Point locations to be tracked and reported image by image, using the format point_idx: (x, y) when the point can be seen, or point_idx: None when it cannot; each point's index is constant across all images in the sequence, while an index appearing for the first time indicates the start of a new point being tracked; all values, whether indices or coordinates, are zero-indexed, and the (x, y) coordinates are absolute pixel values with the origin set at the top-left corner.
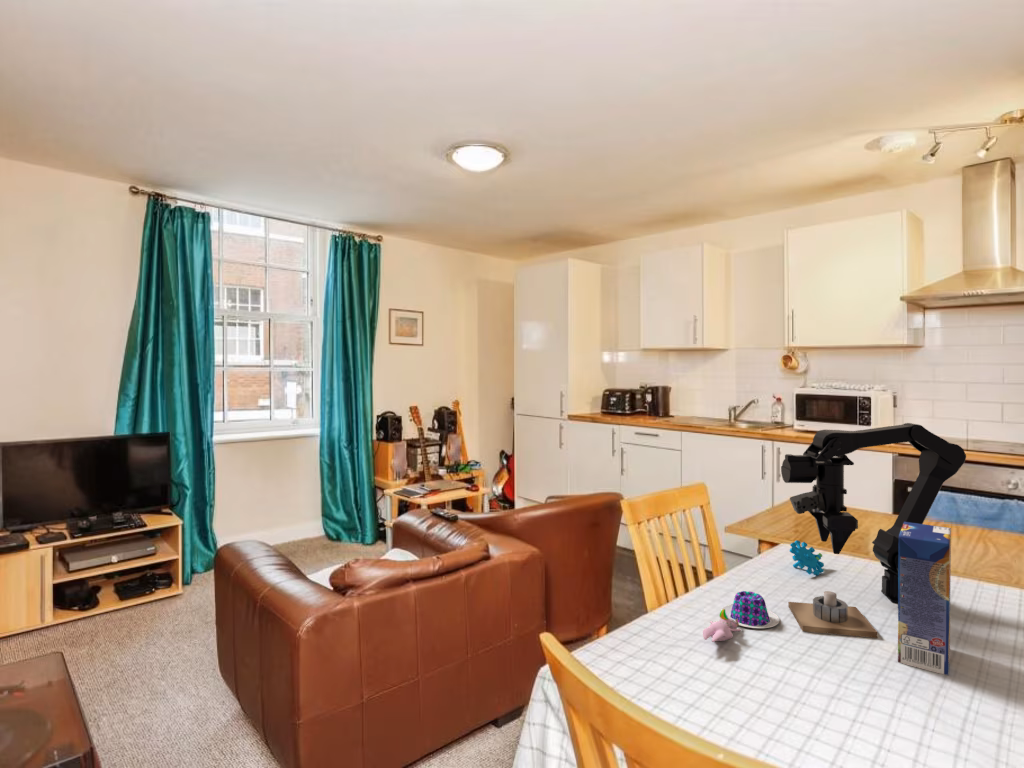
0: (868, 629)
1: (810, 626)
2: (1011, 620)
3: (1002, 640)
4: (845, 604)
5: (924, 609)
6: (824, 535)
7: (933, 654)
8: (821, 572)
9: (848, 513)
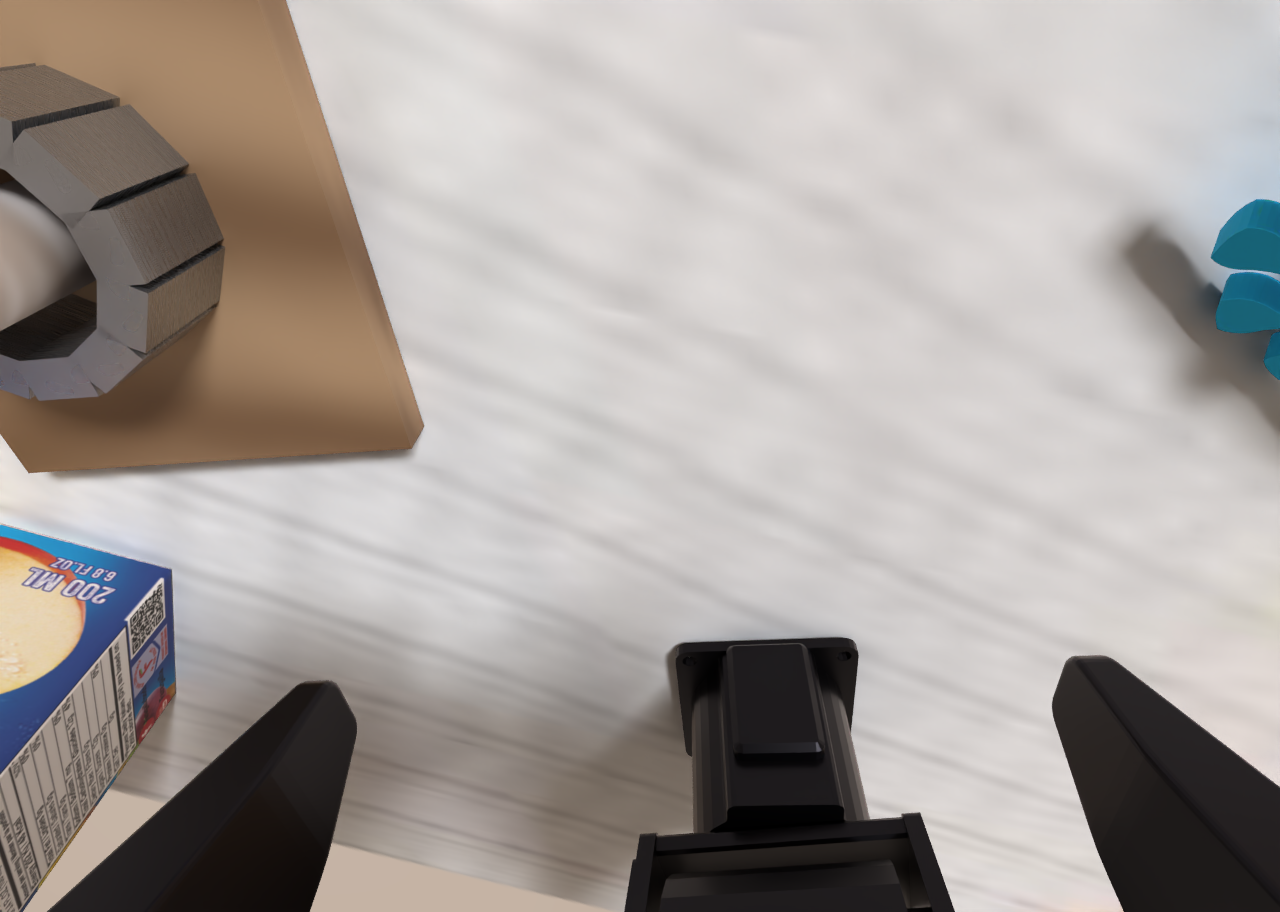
0: (27, 434)
1: None
2: (619, 906)
3: (397, 839)
4: (42, 387)
5: None
6: (1126, 809)
7: None
8: (1268, 355)
9: None
